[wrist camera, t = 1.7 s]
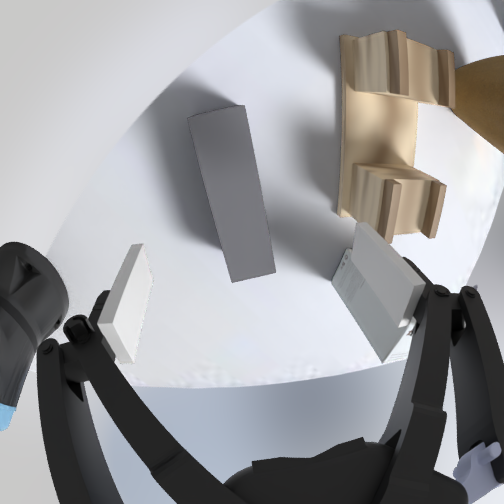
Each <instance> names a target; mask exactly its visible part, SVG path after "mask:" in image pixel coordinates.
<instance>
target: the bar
mask: <svg viewBox="0 0 504 504" xmlns="http://www.w3.org/2000/svg"><path fill="white" fill-rule="evenodd" d="M187 119H188V123H189V127H190V131H191V135H192V139H193V143H194V147H195V151H196V155H197V159H198V163H199V167H200V170H201V174H202V178H203V182H204V186H205V189H206V193H207V197H208V200H209V204H210V208H211V211H212V215H213V219H214V222H215V226H216V229H217V233H218V237H219V240H220V244H221V247H222V251H223V254H224V258H225V261H226V264H227V268H228V271H229V275H230V278H231V282H232V283H234V282H238V281H243V280H247V279H251V278H256V277H260V276H264V275H268V274H272V273H276V269H275V263H274V257H273V252H272V246H271V240H270V235H269V229H268V223H267V218H266V212H265V207H264V202H263V196H262V191H261V185H260V180H259V175H258V170H257V164H256V159H255V154H254V149H253V144H252V139H251V134H250V129H249V124H248V119H247V114H246V109H245V105H237V106H232V107H227V108H222V109H218V110H213V111H209V112H205V113H201V114H197V115H193V116H191V117H189V118H187Z"/></svg>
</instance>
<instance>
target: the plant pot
mask: <svg viewBox="0 0 504 504" xmlns="http://www.w3.org/2000/svg"><path fill="white" fill-rule="evenodd" d="M451 109H452V111H453V112H454V114H455V115H456V116H457V117H459V118H460V119H461V120H462V121H463V122H465V123H466V124H467V125H468V126H469V127H471V128H472V129H473V130H474V131H475V132H477V133H478V134H479V135H480V136H482V137H483V138H484V139H485V140H487V141H488V142H489V143H491V144H492V145H493V146H494V147H496V148H497V149H498V150H500V151H501V152H502V153H503V154H504V55H501V56H495V57H490V58H486V59H482V60H479V61H475V62H472V63H470V64H467V65H465V66H462V67H460V68H458V69H456V70H455V109H454V108H451Z"/></svg>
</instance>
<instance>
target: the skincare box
mask: <svg viewBox="0 0 504 504" xmlns="http://www.w3.org/2000/svg"><path fill="white" fill-rule="evenodd" d="M351 254H352V249H349V248H347V249H346V251H345V253H344V256H343V258H342V260H341V262H340V264H339V266H338V268H337V270H336V272H335V274H334V276H333V278H332V281H331V283H332V285H333V287H334V288H335V290H336V291H337V293H338V294H339V296H340V297H341V299H342V300H343V302H344V303H345V305H346V307H347V308H348V310H349V311H350V313H351V314H352V316H353V317H354V319H355V320H356V322H357V323H358V325H359V327H360V328H361V330H362V331H363V333H364V335H365V336H366V338H367V339H368V341H369V342H370V344H371V346H372V347H373V349H374V351H375V352H376V354H377V355H378V357H379V359H380V360H381V362H382V364H383V363H389V362H394V361H400V360H405V359H407V358H408V354H409V349H410V345H411V340H412V336H410V334H411V332H412V330H413V327H414V325H415V323H416V319H415V318H414V317H412V320H411V322H410V324H409V325H406V326H403V327H399V328H398V327H397V325H396V324H395V322H394V321H393V319H392V318H391V316H390V315H389V313H388V312H387V310H386V309H385V307H384V306H383V304H382V303H381V301H380V300H379V298H378V297H377V295H376V294H375V293H374V291H373V290H372V288H371V287H370V285H369V284H368V283H367V281H366V280H365V278H364V277H363V276H362V274H361V273H360V271H359V270H358V269H357V267H356V266H355V265H354V263H353V262H352V261H351ZM412 335H413V334H412Z"/></svg>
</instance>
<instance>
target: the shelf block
mask: <svg viewBox="0 0 504 504" xmlns="http://www.w3.org/2000/svg"><path fill="white" fill-rule="evenodd" d="M340 52H341V75H342V138H341V164H340V181H339V195H338V208H337V215H338V216H339V217H340V218H341V217H353V218H354V219H355V220H356V221H357V222H358V223H359V222H367V223H368V224H369V225H370V226H371V227H372V228H373V229H374V230H375V231H376V232H377V233H378V234H379V235H380V236H381V237H382V238H383V239H384V240H385V241H386V242H387V243H388V244H391V243H392V240H393V235H399V234H409V233H418V232H422V233H423V234H424V235H425V236H426V237H428V238H429V239H431V238H435V236H436V233H437V229H438V225H439V220H440V216H441V212H442V207H443V203H444V198H445V192H446V187H447V185H445V184H443V183H441V182H440V181H439V180H437V179H435V178H433V177H432V176H430V175H428V174H426V173H424V172H422V171H419V170H417V169H415V168H413V166H414V157H415V147H416V135H417V118H418V102H419V103H425V104H431V105H437V106H442V107H449V108H454V109H455V63H454V53H453V52H451V51H449V50H436V49H434V48H432V47H429V46H427V45H424V44H421V43H419V42H416V41H413V40H411V39H408V38H407V37H406V32H403V31H400V30H393V31H388V32H386V31H381V32H378V33H374V34H371V35H367V36H364V37H361V38H359V37H354V36H349V35H344V34H343V35H341V36H340Z"/></svg>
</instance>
